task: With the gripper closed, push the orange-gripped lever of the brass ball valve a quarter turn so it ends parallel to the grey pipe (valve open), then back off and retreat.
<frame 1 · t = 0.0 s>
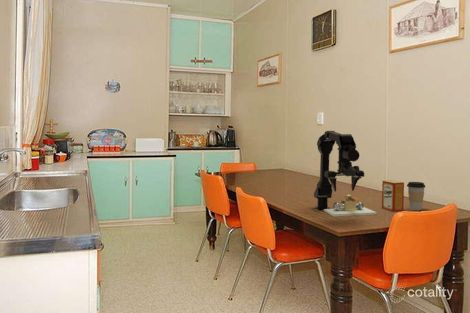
hand: (344, 191, 201), 15 cm above the table, fingers open, 9 cm apart
board: (349, 212, 218), on the table
valve: (348, 212, 220), resting on board
lever: (351, 198, 215), point 8 cm above the table, hinge at 0.0°
baking soda box: (392, 209, 226), on the table
coffee cup: (415, 209, 225), on the table
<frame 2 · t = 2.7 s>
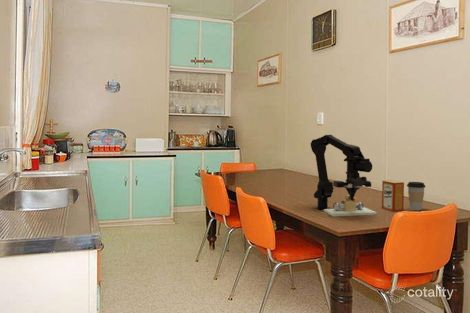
hand: (351, 200, 211), 8 cm above the table, fingers closed
lever: (351, 198, 215), point 9 cm above the table, hinge at 0.1°, touching gripper
everything else where it was.
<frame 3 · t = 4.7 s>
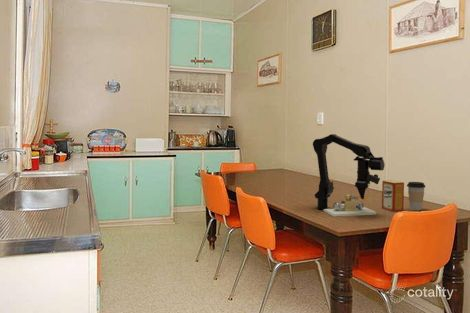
hand: (362, 199, 214), 8 cm above the table, fingers closed
lever: (356, 197, 217), point 8 cm above the table, hinge at 52.0°, touching gripper
everything else where it was.
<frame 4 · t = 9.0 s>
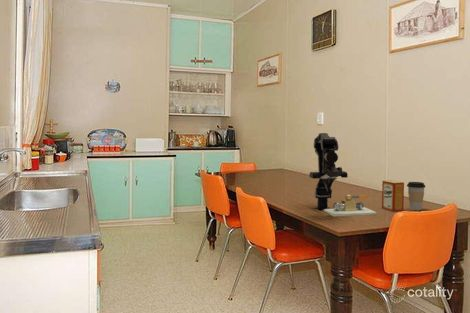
hand: (328, 191, 211), 13 cm above the table, fingers closed
lever: (355, 196, 219), point 9 cm above the table, hinge at 83.3°
everything else where it was.
at the end: lever at +83° (first picture: +0°); lever touching nothing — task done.
